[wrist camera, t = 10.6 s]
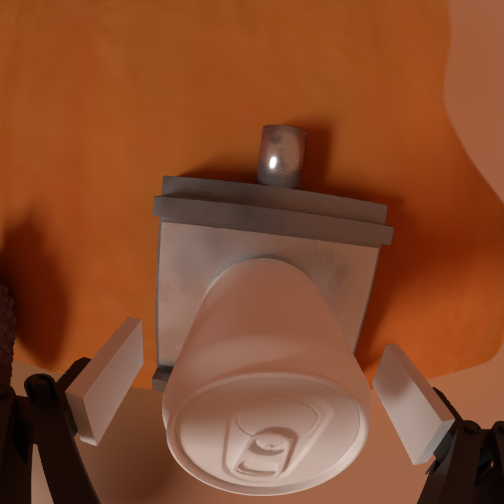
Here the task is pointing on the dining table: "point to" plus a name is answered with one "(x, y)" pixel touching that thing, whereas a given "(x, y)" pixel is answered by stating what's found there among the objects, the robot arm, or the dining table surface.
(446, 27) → the dining table surface
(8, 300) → the pine cone
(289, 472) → the beverage can
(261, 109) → the dining table surface
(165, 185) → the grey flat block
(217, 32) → the dining table surface
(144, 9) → the dining table surface
